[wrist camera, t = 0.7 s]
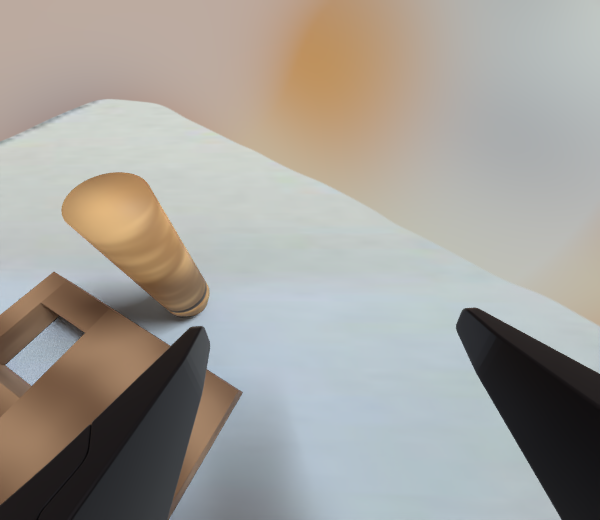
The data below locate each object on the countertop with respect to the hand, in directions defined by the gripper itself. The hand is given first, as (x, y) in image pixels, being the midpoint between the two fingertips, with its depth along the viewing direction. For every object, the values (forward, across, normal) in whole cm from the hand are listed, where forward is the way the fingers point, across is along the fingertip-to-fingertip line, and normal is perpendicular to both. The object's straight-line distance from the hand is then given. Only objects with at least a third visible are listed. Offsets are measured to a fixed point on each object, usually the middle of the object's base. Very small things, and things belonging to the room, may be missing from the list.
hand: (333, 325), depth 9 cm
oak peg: (+13, +12, +9) cm, 20 cm away
